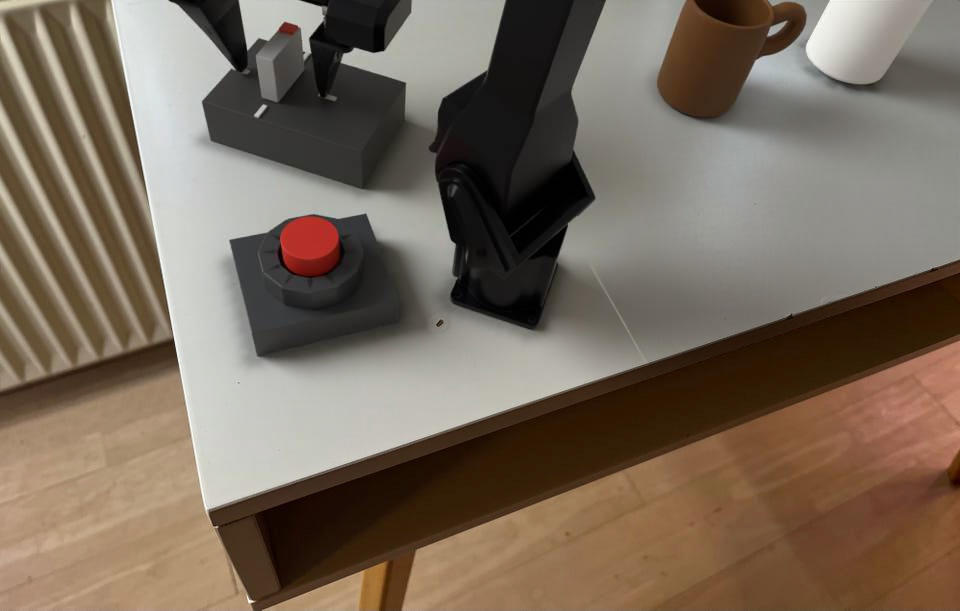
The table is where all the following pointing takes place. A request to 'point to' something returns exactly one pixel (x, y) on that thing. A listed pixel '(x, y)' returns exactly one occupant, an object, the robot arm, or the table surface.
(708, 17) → the mug
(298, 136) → the slider switch box
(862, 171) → the table surface
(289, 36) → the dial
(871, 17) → the beverage can
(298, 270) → the stop button
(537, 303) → the robot arm
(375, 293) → the push button box
